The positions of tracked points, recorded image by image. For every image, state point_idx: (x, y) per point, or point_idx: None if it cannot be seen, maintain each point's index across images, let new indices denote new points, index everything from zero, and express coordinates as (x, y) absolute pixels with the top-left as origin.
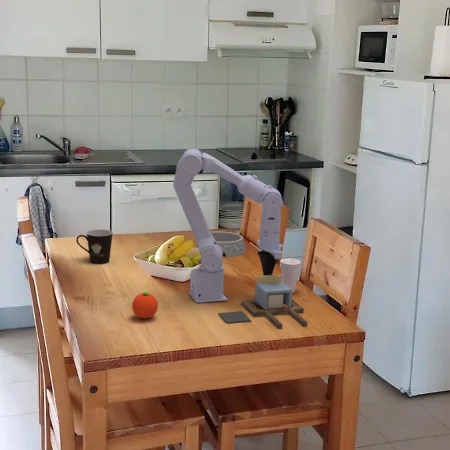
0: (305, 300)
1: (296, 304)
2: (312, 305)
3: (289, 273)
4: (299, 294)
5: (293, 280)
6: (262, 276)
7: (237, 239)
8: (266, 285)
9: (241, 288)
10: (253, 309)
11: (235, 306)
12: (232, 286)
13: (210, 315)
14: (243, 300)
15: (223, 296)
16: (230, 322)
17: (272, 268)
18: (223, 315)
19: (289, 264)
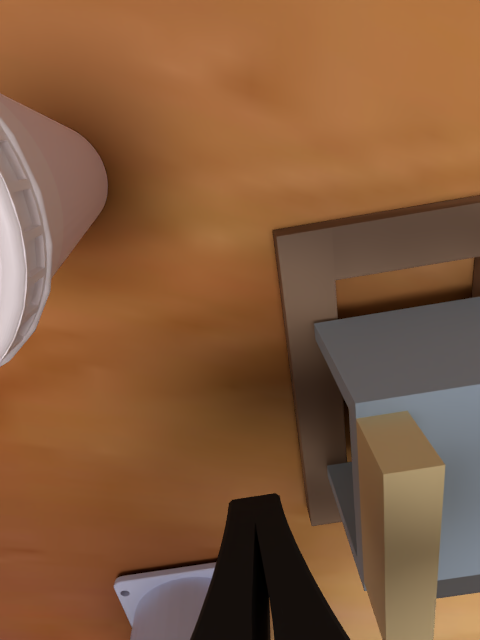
0: (280, 81)
1: (458, 224)
2: (408, 50)
3: (64, 242)
4: (124, 93)
5: (75, 164)
6: (415, 619)
7: None
8: (457, 534)
9: (35, 476)
10: None
11: (330, 530)
12: (6, 513)
13: None
14: (312, 518)
15: (212, 575)
16: None
17: (301, 580)
18: (452, 588)
19: (21, 303)
